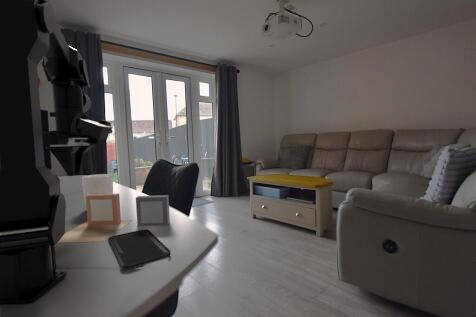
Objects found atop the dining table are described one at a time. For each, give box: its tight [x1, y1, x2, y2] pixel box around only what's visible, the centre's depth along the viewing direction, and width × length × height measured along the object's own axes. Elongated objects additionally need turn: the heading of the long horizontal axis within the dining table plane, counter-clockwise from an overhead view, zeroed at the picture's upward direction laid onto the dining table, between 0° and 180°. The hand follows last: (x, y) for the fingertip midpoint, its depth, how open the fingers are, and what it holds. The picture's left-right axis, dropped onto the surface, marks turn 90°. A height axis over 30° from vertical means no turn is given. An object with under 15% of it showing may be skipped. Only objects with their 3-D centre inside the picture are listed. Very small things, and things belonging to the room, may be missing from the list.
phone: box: [107, 228, 171, 272], centre depth 46 cm, size 8×1×15 cm
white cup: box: [81, 173, 114, 211], centre depth 72 cm, size 8×8×10 cm
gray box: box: [135, 194, 171, 227], centre depth 57 cm, size 2×7×7 cm, turn 90°
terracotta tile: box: [85, 193, 122, 225], centre depth 58 cm, size 2×7×7 cm, turn 90°
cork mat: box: [56, 219, 133, 244], centre depth 55 cm, size 13×11×1 cm
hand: (74, 175), depth 59 cm, fingers closed
